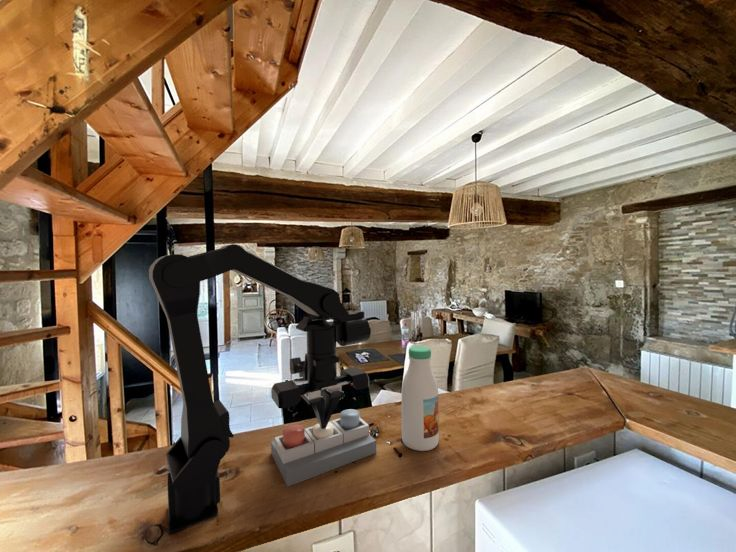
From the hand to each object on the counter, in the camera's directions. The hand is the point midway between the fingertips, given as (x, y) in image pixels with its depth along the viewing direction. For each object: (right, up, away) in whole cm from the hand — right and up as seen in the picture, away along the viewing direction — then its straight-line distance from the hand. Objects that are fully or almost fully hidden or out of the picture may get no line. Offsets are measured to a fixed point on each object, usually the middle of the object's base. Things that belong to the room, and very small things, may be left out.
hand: (323, 427), depth 63 cm
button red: (-5, -1, -3) cm, 6 cm away
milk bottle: (+20, -5, +4) cm, 21 cm away
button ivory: (0, -2, 0) cm, 3 cm away
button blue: (+5, -1, +3) cm, 6 cm away
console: (0, -5, 0) cm, 5 cm away
